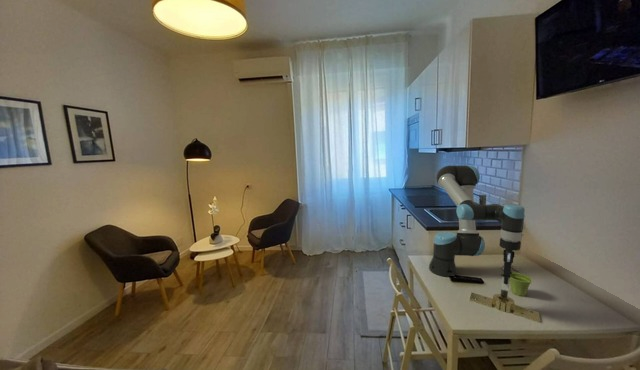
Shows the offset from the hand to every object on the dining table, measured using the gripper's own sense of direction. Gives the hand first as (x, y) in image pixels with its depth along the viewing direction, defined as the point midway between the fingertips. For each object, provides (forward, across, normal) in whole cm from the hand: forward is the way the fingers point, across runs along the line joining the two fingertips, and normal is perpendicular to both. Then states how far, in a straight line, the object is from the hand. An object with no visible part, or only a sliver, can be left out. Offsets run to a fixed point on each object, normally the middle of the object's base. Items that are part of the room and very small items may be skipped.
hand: (504, 288), depth 116 cm
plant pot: (+10, +19, -6) cm, 22 cm away
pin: (+4, 0, 0) cm, 4 cm away
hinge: (+9, 0, 0) cm, 9 cm away
